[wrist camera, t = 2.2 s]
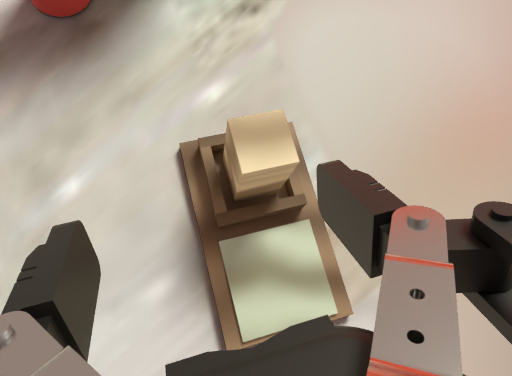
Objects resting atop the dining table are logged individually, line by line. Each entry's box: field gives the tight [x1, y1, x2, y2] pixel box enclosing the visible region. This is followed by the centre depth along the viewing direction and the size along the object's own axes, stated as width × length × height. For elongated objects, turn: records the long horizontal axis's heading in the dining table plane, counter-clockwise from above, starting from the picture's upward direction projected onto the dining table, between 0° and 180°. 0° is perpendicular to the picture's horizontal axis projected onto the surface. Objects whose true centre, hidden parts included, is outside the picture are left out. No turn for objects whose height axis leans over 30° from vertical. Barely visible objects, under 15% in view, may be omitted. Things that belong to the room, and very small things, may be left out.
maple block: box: [223, 109, 300, 204], centre depth 32 cm, size 4×4×9 cm
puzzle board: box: [179, 122, 353, 350], centre depth 35 cm, size 20×12×3 cm, turn 15°
